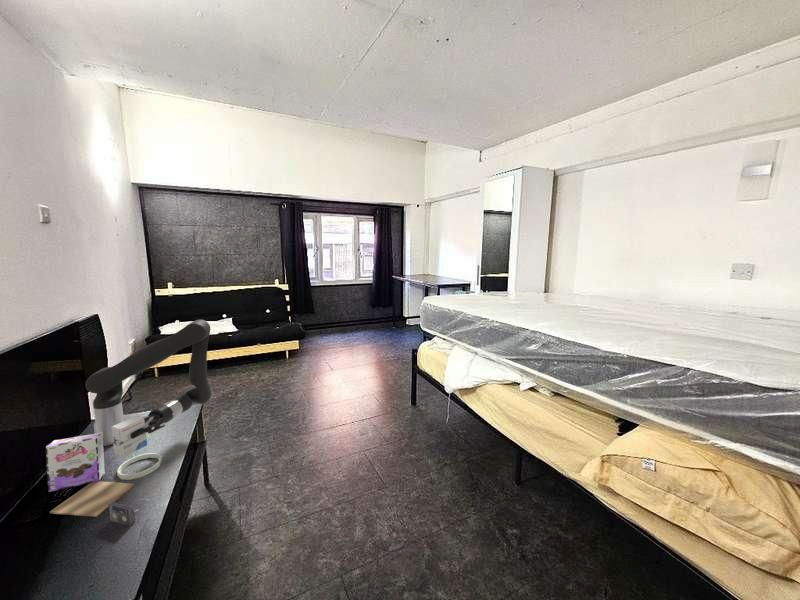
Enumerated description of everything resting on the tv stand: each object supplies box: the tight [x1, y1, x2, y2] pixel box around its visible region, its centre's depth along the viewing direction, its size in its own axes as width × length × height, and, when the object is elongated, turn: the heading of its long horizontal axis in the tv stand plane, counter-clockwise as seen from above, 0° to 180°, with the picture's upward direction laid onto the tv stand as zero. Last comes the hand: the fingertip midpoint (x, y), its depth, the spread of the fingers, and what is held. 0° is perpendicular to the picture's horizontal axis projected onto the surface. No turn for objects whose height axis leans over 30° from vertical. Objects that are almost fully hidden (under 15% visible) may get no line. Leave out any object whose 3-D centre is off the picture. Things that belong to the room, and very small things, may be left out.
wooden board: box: [49, 480, 136, 518], centre depth 109 cm, size 16×14×1 cm
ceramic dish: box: [116, 452, 163, 481], centre depth 125 cm, size 13×13×2 cm
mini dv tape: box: [108, 501, 136, 527], centre depth 100 cm, size 8×2×6 cm, turn 76°
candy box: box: [45, 432, 106, 493], centre depth 115 cm, size 14×6×16 cm, turn 117°
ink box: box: [111, 415, 148, 459], centre depth 119 cm, size 9×5×12 cm, turn 160°
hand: (125, 435), depth 117 cm, fingers closed on ink box, 5 cm apart
